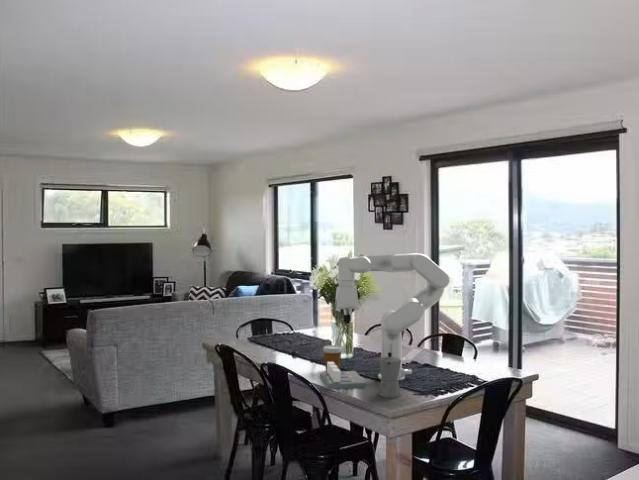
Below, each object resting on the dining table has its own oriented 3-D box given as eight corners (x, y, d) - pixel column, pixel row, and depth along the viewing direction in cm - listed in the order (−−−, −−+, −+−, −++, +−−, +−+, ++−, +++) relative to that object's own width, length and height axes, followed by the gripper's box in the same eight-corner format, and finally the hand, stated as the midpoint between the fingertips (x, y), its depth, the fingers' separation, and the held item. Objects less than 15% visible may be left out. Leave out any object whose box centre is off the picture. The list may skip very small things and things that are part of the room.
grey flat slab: (355, 375, 290) (355, 370, 290) (365, 387, 268) (365, 382, 268) (320, 376, 287) (320, 372, 287) (327, 388, 266) (327, 384, 266)
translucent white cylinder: (421, 350, 321) (389, 356, 304) (421, 361, 321) (389, 368, 304) (413, 348, 325) (380, 354, 309) (413, 359, 325) (380, 366, 309)
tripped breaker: (338, 379, 273) (338, 368, 272) (340, 382, 268) (340, 370, 268) (332, 379, 272) (332, 368, 272) (333, 382, 268) (333, 371, 268)
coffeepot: (400, 399, 249) (400, 356, 249) (377, 398, 251) (377, 355, 250) (401, 389, 264) (401, 348, 264) (379, 388, 266) (379, 347, 265)
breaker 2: (336, 375, 280) (336, 364, 279) (337, 378, 275) (337, 367, 275) (329, 376, 279) (329, 365, 279) (331, 378, 275) (331, 367, 275)
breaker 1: (333, 372, 286) (333, 361, 286) (335, 374, 282) (335, 363, 282) (327, 372, 286) (327, 361, 286) (328, 374, 282) (328, 363, 281)
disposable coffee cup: (325, 374, 292) (325, 349, 291) (320, 369, 301) (320, 345, 300) (344, 373, 294) (344, 348, 294) (338, 368, 303) (338, 344, 303)
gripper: (359, 282, 289) (360, 321, 289) (329, 283, 286) (329, 322, 286) (364, 284, 281) (364, 323, 282) (332, 285, 278) (333, 325, 279)
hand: (347, 323), depth 284 cm, fingers closed
